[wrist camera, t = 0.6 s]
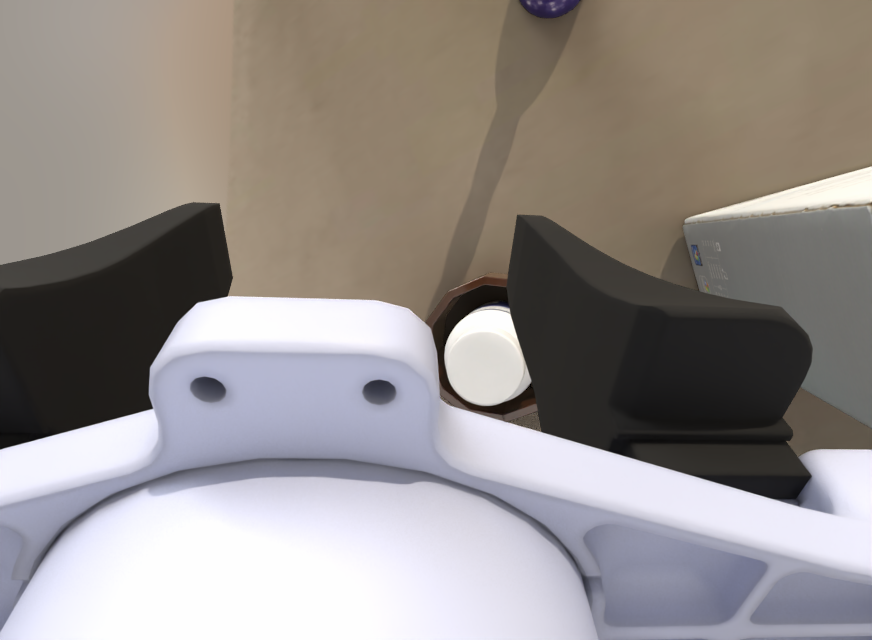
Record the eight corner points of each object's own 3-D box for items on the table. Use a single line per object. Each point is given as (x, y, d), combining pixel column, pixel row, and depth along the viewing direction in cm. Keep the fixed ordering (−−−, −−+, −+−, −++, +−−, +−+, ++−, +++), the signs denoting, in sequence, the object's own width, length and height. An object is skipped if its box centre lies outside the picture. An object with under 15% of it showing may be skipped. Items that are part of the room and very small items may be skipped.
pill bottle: (533, 384, 36) (527, 430, 27) (456, 369, 37) (426, 409, 28) (547, 306, 35) (545, 327, 26) (467, 292, 36) (440, 309, 27)
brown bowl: (588, 375, 35) (592, 392, 31) (467, 419, 37) (457, 439, 33) (536, 252, 35) (534, 254, 31) (417, 303, 37) (401, 311, 33)
